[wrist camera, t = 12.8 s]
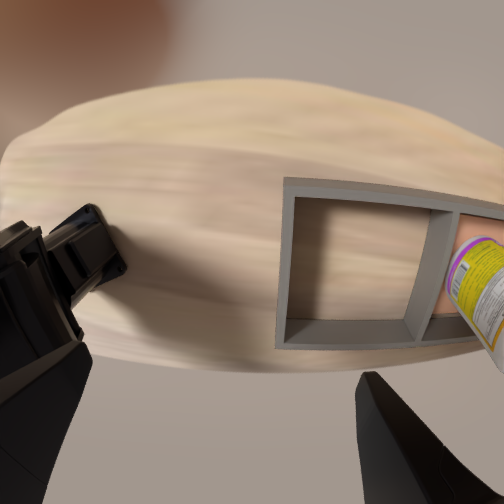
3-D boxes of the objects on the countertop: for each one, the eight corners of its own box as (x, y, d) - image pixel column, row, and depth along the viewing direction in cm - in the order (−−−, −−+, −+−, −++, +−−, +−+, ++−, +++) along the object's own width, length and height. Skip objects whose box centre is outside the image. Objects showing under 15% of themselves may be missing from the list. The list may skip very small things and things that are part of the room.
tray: (276, 324, 23) (273, 368, 18) (283, 176, 18) (284, 192, 13) (494, 318, 21) (517, 347, 16) (529, 211, 16) (562, 230, 12)
